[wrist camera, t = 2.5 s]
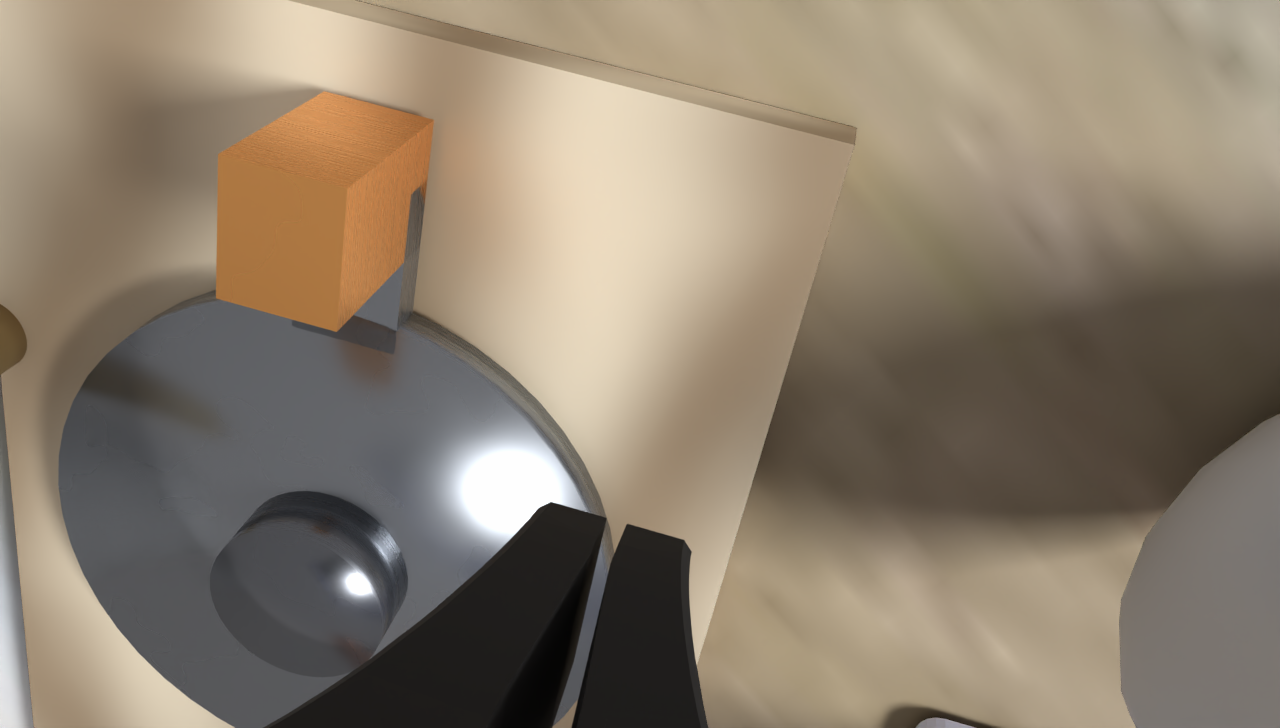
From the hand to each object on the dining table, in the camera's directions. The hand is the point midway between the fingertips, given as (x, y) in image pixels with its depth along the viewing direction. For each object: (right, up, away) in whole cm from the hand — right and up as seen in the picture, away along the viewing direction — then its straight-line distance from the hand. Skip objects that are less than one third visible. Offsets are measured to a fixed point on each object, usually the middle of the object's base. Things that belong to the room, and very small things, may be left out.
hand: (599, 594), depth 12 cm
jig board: (-6, -1, +14) cm, 15 cm away
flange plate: (-6, 0, +12) cm, 13 cm away
